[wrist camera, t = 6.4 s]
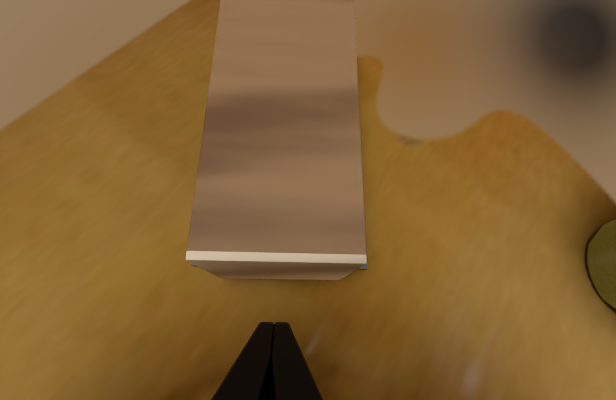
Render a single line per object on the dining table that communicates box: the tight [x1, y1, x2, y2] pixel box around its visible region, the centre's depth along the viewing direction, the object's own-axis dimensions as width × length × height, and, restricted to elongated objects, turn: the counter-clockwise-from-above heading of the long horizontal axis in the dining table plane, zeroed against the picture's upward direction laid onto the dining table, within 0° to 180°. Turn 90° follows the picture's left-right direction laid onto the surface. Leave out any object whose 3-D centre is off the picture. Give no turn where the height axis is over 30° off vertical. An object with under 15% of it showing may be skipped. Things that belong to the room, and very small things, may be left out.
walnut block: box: [186, 0, 367, 280], centre depth 16 cm, size 6×6×14 cm
